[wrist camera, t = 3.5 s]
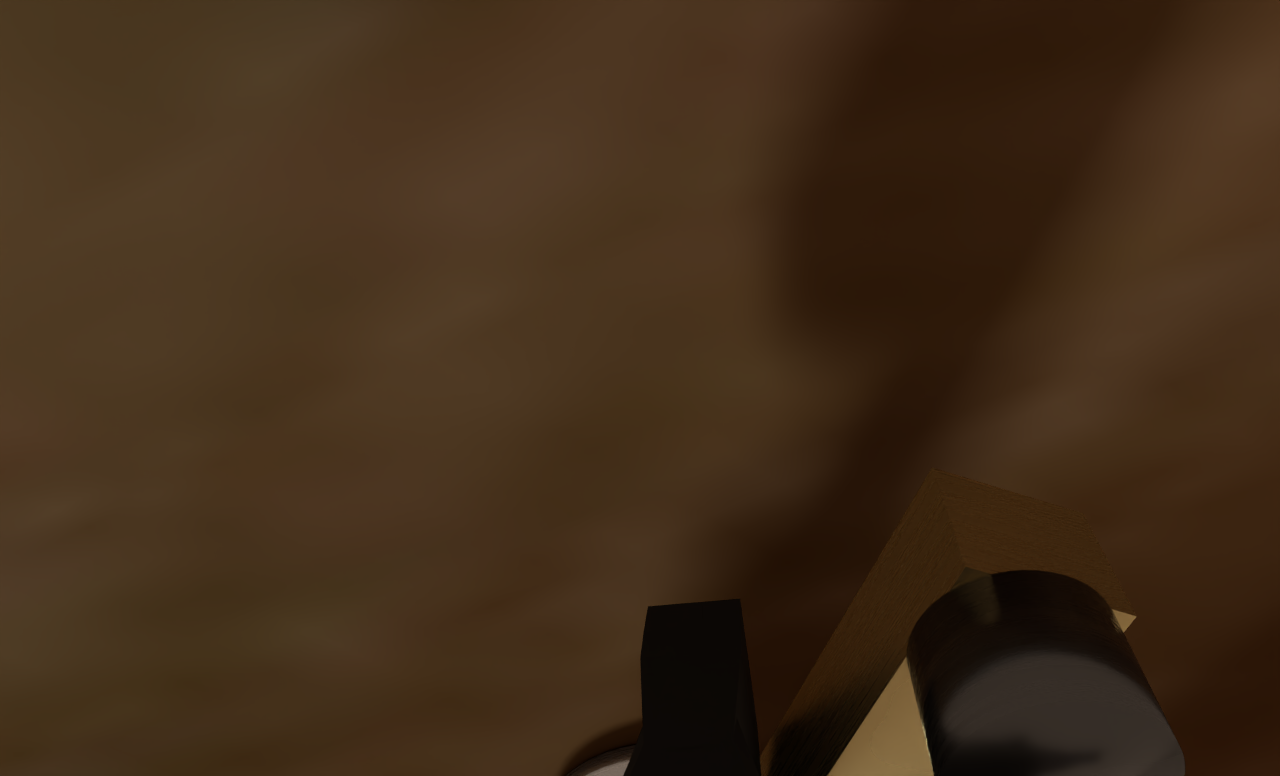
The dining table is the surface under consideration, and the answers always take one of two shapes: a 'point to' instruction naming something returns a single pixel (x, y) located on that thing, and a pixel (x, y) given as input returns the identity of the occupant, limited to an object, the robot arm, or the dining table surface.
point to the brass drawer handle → (980, 654)
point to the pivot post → (605, 764)
